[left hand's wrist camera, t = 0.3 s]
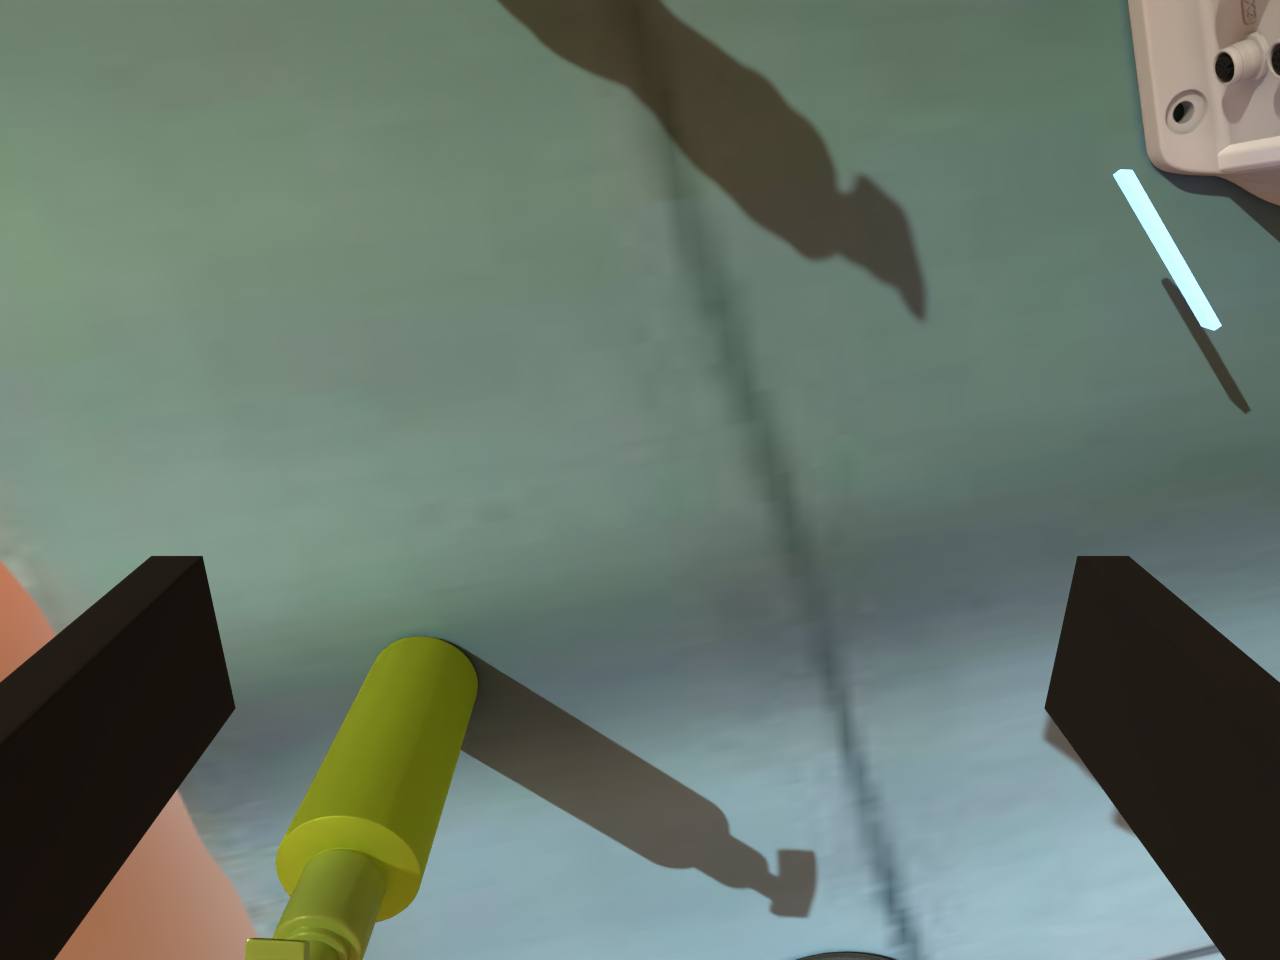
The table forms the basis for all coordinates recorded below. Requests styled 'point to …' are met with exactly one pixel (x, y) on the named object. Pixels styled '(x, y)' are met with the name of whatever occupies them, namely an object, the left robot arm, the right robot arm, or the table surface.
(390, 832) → the soap dispenser
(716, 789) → the table surface
